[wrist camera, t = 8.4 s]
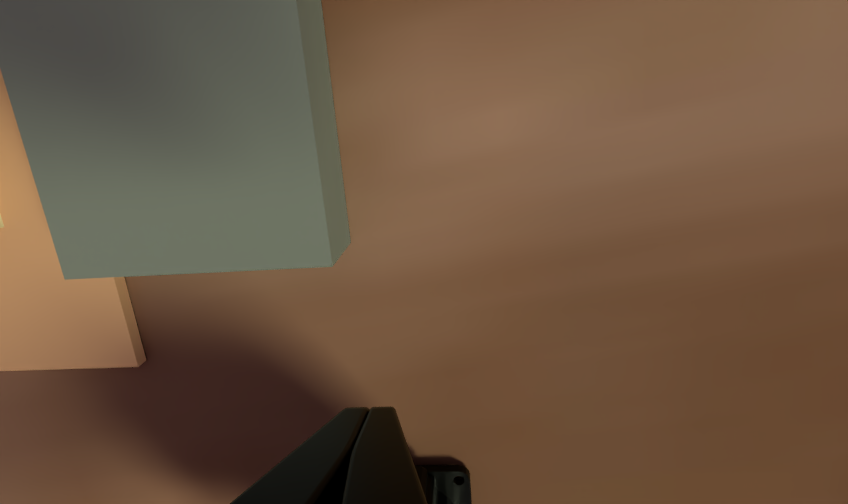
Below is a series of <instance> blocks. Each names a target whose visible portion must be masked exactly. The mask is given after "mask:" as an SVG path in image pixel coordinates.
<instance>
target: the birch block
mask: <svg viewBox="0 0 848 504" xmlns="http://www.w3.org/2000/svg"><path fill="white" fill-rule="evenodd" d="M2 227H4V224H3V221H2V218H1V215H0V228H2Z"/></svg>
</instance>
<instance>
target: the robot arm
mask: <svg viewBox="0 0 848 504" xmlns="http://www.w3.org/2000/svg"><path fill="white" fill-rule="evenodd" d="M456 476H461V477H463V478H461V479H458V478H455V477H456ZM230 504H472V503H471V486H470V473H469V470H468V469H467V468H466V467H464V466H460V465H430V466H414V463H413V460H412V457H411V454H410V451H409V448H408V445H407V442H406V440H405V437H404V434H403V431H402V428H401V425H400V422H399V419H398V416H397V413H396V410H395V409H394V408H393V407H373V408H371V409H370V410H369V409H368V408H367V407H354V408H345V409H344V410H342V411H341V412H340V413H339V414H338V415H336V416H335V417H334V418H333V419H331V420H330V421H329V422H328V423H327V424H325V425H324V426H323V427H322V428H321V429H319V430H318V431H317V432H316V433H315V434H313V435H312V436H311V437H310V438H309V439H307V440H306V441H305V442H304V443H302V444H301V445H300V446H299V447H298V448H296V449H295V450H294V451H293V452H292V453H290V454H289V455H288V456H287V457H286V458H284V459H283V460H282V461H281V462H280V463H278V464H277V465H276V466H275V467H274V468H272V469H271V470H270V471H269V472H267V473H266V474H265V475H264V476H263V477H261V478H260V479H259V480H258V481H257V482H255V483H254V484H253V485H252V486H251V487H249V488H248V489H247V490H246V491H245V492H243V493H242V494H241V495H240V496H239V497H237V498H236V499H235V500H234V501H232V502H231V503H230Z"/></svg>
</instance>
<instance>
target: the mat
mask: <svg viewBox="0 0 848 504" xmlns="http://www.w3.org/2000/svg"><path fill="white" fill-rule="evenodd" d="M0 215H1V218H2V221H3V224H4V227H2V228H0V371H23V370H55V369H87V368H119V367H139V366H140V365H141V364H142V363H143V362H145V361H146V357H145V353H144V349H143V345H142V342H141V338H140V334H139V330H138V327H137V323H136V319H135V315H134V312H133V308H132V304H131V300H130V297H129V293H128V289H127V285H126V282H125V278H124V277H109V278H88V279H68V280H65V279H64V276H63V273H62V269H61V266H60V263H59V260H58V256H57V253H56V250H55V246H54V243H53V240H52V237H51V233H50V230H49V227H48V223H47V220H46V217H45V214H44V210H43V207H42V204H41V201H40V197H39V194H38V191H37V187H36V184H35V181H34V178H33V174H32V171H31V168H30V164H29V161H28V158H27V155H26V151H25V148H24V145H23V142H22V138H21V135H20V132H19V128H18V125H17V122H16V119H15V115H14V112H13V109H12V105H11V102H10V99H9V96H8V92H7V89H6V86H5V83H4V79H3V76H2V73H1V69H0Z"/></svg>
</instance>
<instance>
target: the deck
mask: <svg viewBox="0 0 848 504" xmlns="http://www.w3.org/2000/svg"><path fill="white" fill-rule="evenodd" d="M0 69H1V73H2V76H3V79H4V83H5V86H6V89H7V92H8V96H9V99H10V102H11V105H12V109H13V112H14V115H15V119H16V122H17V125H18V128H19V132H20V135H21V138H22V142H23V145H24V148H25V151H26V155H27V158H28V161H29V164H30V168H31V171H32V174H33V178H34V181H35V184H36V187H37V191H38V194H39V197H40V201H41V204H42V207H43V210H44V214H45V217H46V220H47V223H48V227H49V230H50V233H51V237H52V240H53V243H54V246H55V250H56V253H57V256H58V260H59V263H60V266H61V269H62V273H63V276H64V279H65V280H68V279H88V278H109V277H129V276H150V275H171V274H191V273H212V272H232V271H253V270H274V269H294V268H315V267H333V265H334V264H335V263H336V261H337V260H338V259H339V257H340V256H341V255H342V253H343V252H344V251H345V249H346V248H347V247H348V245H349V244H350V243H351V240H350V232H349V224H348V216H347V208H346V200H345V192H344V183H343V175H342V167H341V159H340V151H339V143H338V135H337V127H336V118H335V110H334V102H333V94H332V86H331V78H330V70H329V61H328V53H327V45H326V37H325V29H324V21H323V13H322V5H321V0H0Z"/></svg>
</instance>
